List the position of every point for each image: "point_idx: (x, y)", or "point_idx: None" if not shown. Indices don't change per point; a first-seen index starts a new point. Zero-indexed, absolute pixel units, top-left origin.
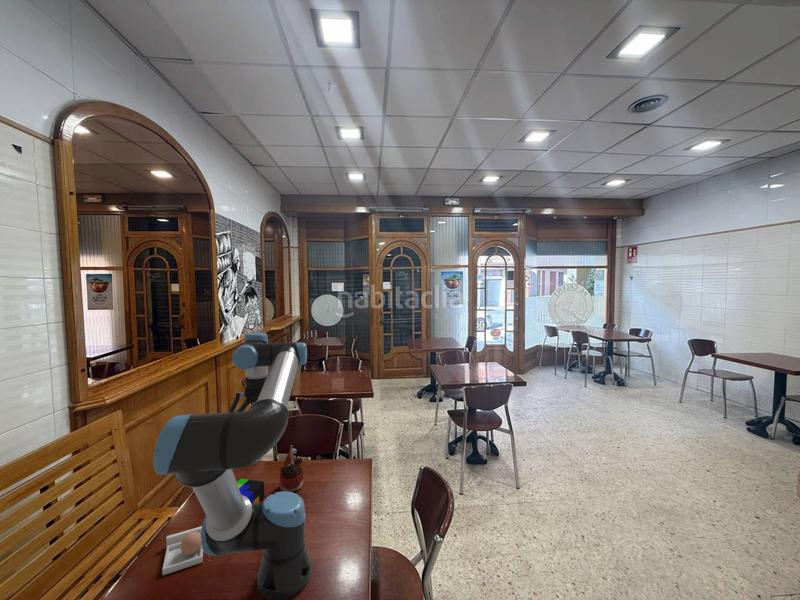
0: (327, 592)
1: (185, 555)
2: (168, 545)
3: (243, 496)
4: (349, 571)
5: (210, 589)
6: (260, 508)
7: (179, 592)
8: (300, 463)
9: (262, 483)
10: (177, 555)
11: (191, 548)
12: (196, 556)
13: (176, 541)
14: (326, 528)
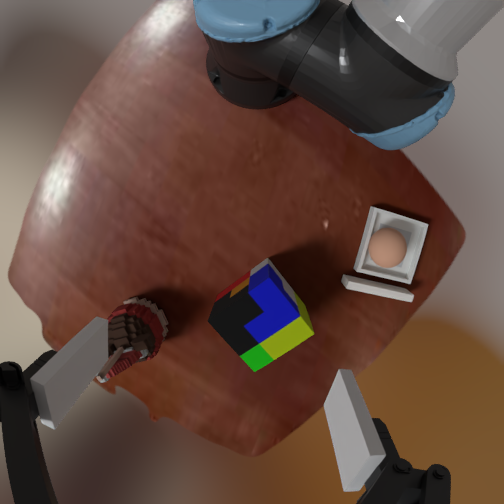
0: None
1: None
2: (405, 289)
3: (379, 25)
4: (164, 18)
5: None
6: (322, 10)
7: (410, 162)
8: None
9: (213, 316)
10: None
11: (393, 228)
12: (377, 225)
13: (395, 288)
14: (136, 131)
